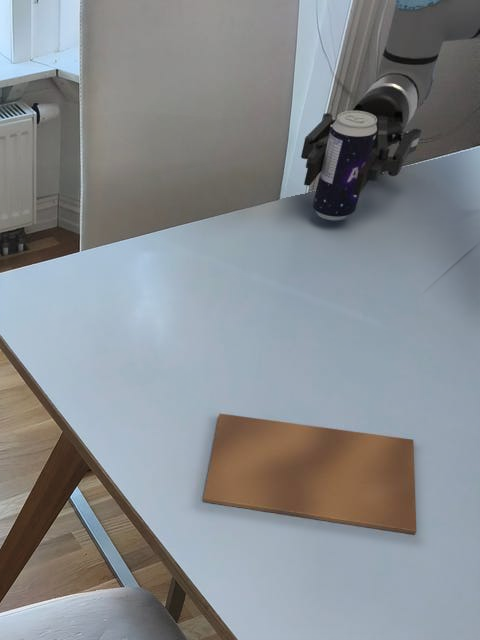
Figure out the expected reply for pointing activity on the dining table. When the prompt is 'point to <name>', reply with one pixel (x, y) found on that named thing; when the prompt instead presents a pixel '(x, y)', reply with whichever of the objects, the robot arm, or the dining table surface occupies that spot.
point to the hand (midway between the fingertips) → (333, 179)
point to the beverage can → (344, 163)
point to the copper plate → (313, 473)
